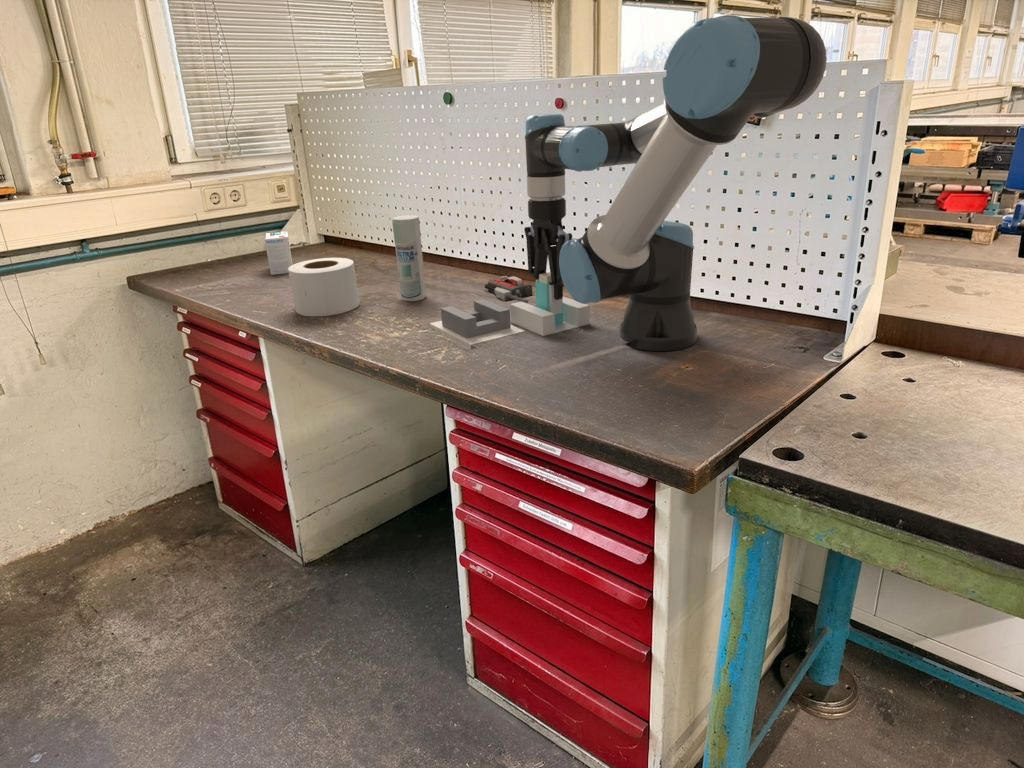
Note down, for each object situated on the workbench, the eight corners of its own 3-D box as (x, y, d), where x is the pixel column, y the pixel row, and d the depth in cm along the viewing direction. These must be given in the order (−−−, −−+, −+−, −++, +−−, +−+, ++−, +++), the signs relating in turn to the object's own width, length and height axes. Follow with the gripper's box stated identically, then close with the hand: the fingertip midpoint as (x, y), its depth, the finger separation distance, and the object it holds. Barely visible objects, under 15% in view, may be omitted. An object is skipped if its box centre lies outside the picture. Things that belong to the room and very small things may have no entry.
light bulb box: (271, 267, 214) (264, 232, 210) (293, 265, 216) (287, 230, 212) (270, 275, 205) (263, 238, 201) (294, 272, 207) (287, 236, 203)
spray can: (396, 301, 172) (387, 219, 164) (406, 294, 178) (398, 215, 170) (421, 301, 171) (413, 219, 163) (430, 294, 176) (422, 215, 169)
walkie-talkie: (477, 292, 177) (523, 308, 162) (476, 275, 176) (523, 290, 160) (505, 286, 182) (553, 301, 167) (504, 270, 180) (552, 283, 165)
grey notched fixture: (525, 335, 143) (524, 312, 141) (471, 349, 137) (469, 325, 135) (481, 315, 157) (479, 294, 155) (430, 327, 151) (427, 305, 149)
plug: (562, 323, 146) (562, 274, 142) (547, 327, 144) (546, 277, 140) (551, 318, 149) (550, 271, 145) (536, 322, 147) (535, 274, 143)
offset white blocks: (589, 328, 145) (589, 305, 144) (543, 340, 140) (542, 316, 138) (555, 315, 155) (555, 293, 153) (511, 326, 149) (509, 304, 147)
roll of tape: (311, 320, 160) (304, 275, 156) (285, 308, 171) (277, 265, 167) (370, 306, 169) (365, 263, 165) (342, 295, 180) (336, 254, 176)
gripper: (588, 199, 132) (588, 316, 141) (537, 192, 145) (540, 299, 154) (556, 204, 128) (559, 324, 137) (507, 196, 142) (512, 306, 151)
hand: (549, 310), depth 146 cm, fingers closed on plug, 4 cm apart
